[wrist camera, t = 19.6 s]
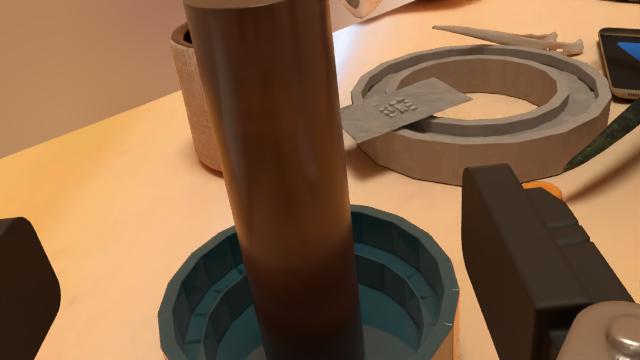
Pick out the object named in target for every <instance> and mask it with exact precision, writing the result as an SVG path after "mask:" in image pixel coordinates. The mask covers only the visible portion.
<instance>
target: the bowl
mask: <svg viewBox="0 0 640 360" xmlns="http://www.w3.org/2000/svg"><path fill="white" fill-rule="evenodd" d="M350 209H351V219H352V229H353V238H354V248H355V258H356V267H357V277H358V287H359V297H360V306H361V316H362V326H363V335H364V345H365V357H364V360H458V359H459V310H460V289H459V286H458V282H457V279H456V276H455V272H454V269H453V265H452V262H451V260H450V258H449V257H448V255H447V254H446V253H445V252H444V251H443V250H442V248H441V247H440V246H439V245H438V244H437V242H436V241H435V240H434V239H433V238H432V236H431V235H429V234H428V233H427V232H425V231H424V230H422V229H420V228H419V227H417V226H415V225H414V224H412V223H411V222H409V221H407V220H406V219H404V218H402V217H400V216H398V215H395V214H391V213H388V212H385V211H381V210H378V209H375V208H372V207H368V206H363V205H352V204H350ZM158 325H159V335H160V346H161V350H162V352H163V355H164V358H165V360H266V356H265V352H264V347H263V343H262V339H261V334H260V330H259V326H258V322H257V317H256V313H255V309H254V304H253V300H252V296H251V292H250V287H249V283H248V279H247V275H246V270H245V266H244V262H243V257H242V253H241V249H240V245H239V240H238V236H237V232H236V227H235V225H234V226H232V227H230V228H227V229H225V230H223V231H221V232H219V233H218V234H217V235H215V236H214V237H213V238H211V239H210V240H209V241H207V242H206V243H205V244H203V245H202V246H201V247H199V248H198V249H197V250H195V251H194V252H193V253H191V255H190V256H189V257H188V258H187V260H186V261H185V262H184V263H183V265H182V266H181V267H180V268H179V270H178V271H177V272H176V273H175V275H174V276H173V277H172V279H171V280H170V281H169V283H168V285H167V288H166V291H165V294H164V297H163V300H162V302H161V305H160V308H159V311H158Z"/></svg>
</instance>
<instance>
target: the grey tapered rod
mask: <svg viewBox="0 0 640 360" xmlns="http://www.w3.org/2000/svg"><path fill="white" fill-rule="evenodd" d="M433 29H437V30H444V31H449V32H452V33H457V34H461V35H466V36H470V37H473V38H477V39H481V40H486V41H489V42H493V43H497V44H501V45H508V46H523V47H529V48H534V49H540V50H546V49H547V48H549V50H546V51H551V52H557V53H560V54H562V55H565V56H567V55H570V54H580V53H581V51H583V49H584V47H583V41H582V40H581V39H579V40H578V41H577V42H574V43H563V42H556V38H557V35H558V34H557V33H556V32H553V33H551V34H544V35H533V34H527V35H518V34H511V33H505V32H498V31H492V30H484V29H475V28H469V27H462V26H433ZM557 49H563V50H564V51H565V52H564V51H562V52H558V51H556V50H557ZM566 51H567V52H566Z"/></svg>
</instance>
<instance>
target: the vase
mask: <svg viewBox="0 0 640 360" xmlns="http://www.w3.org/2000/svg"><path fill="white" fill-rule="evenodd" d="M340 1H341V2H342V4H343V5H344V6H345V7H346V9H347V10H348V11H349V12H350V13H351V14H353V15H354V16H355V17H357V18H360V19H361V18H363V17H365V16H367V15H368V14H370V13H371V12H372V11H373V10H374V9H375V8H376V7H377V6H378V4H379V3H380V2H381V1H382V0H340Z"/></svg>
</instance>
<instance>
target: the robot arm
mask: <svg viewBox="0 0 640 360" xmlns="http://www.w3.org/2000/svg"><path fill="white" fill-rule="evenodd" d="M461 241H462V251H463V258H464V262H465V267H466V270H467V273H468V276H469V278H470V281H471V284H472V286H473V289H474V292H475V295H476V297H477V300H478V303H479V305H480V308H481V311H482V314H483V316H484V319H485V322H486V324H487V327H488V330H489V332H490V335H491V338H492V341H493V343H494V346H495V349H496V351H497V354H498V357H499V359H500V360H640V304H637V303H635V301H634V300H633V298H632V297H631V295H630V294H629V293H628V291H627V290H626V288H625V287H624V286H623V284H622V283H621V281H620V280H619V278H618V277H617V276H616V274H615V273H614V271H613V270H612V268H611V267H610V266H609V264H608V263H607V261H606V260H605V258H604V257H603V256H602V254H601V253H600V251H599V250H598V249H597V247H596V246H595V244H594V243H593V242H590V237H589V236H588V234H587V233H586V231H585V230H584V229H583V227H582V226H581V225H579V223H578V220H577V219H576V217H575V216H574V214H573V213H572V211H571V210H570V209H569V207H568V206H567V204H566V203H565V202H564V201H562V200H561V199H559V198H558V197H556V196H555V195H553V194H552V193H550V192H548V191H547V190H545V189H544V188H542V187H536V188H527V189H524V188H523V186H522V185H521V183H520V181H519V180H518V178H517V176H516V175H515V173H514V171H513V170H512V168H511V167H510V165H509V164H508V163H500V164H491V165H482V166H473V167H465V168H464V170H463V174H462V221H461ZM60 301H61V291H60V285H59V281H58V279H57V277H56V274H55V272H54V270H53V268H52V266H51V264H50V262H49V259H48V257H47V255H46V253H45V251H44V249H43V247H42V244H41V242H40V240H39V238H38V236H37V234H36V232H35V230H34V228H33V226H32V224H31V223H30V222H29V221H28V220H27V219H26V218H23V217H15V218H6V219H0V360H34V359H35V357H36V355H37V353H38V351H39V349H40V347H41V345H42V343H43V341H44V339H45V337H46V335H47V333H48V331H49V329H50V327H51V325H52V323H53V321H54V319H55V317H56V315H57V313H58V311H59V307H60Z"/></svg>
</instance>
